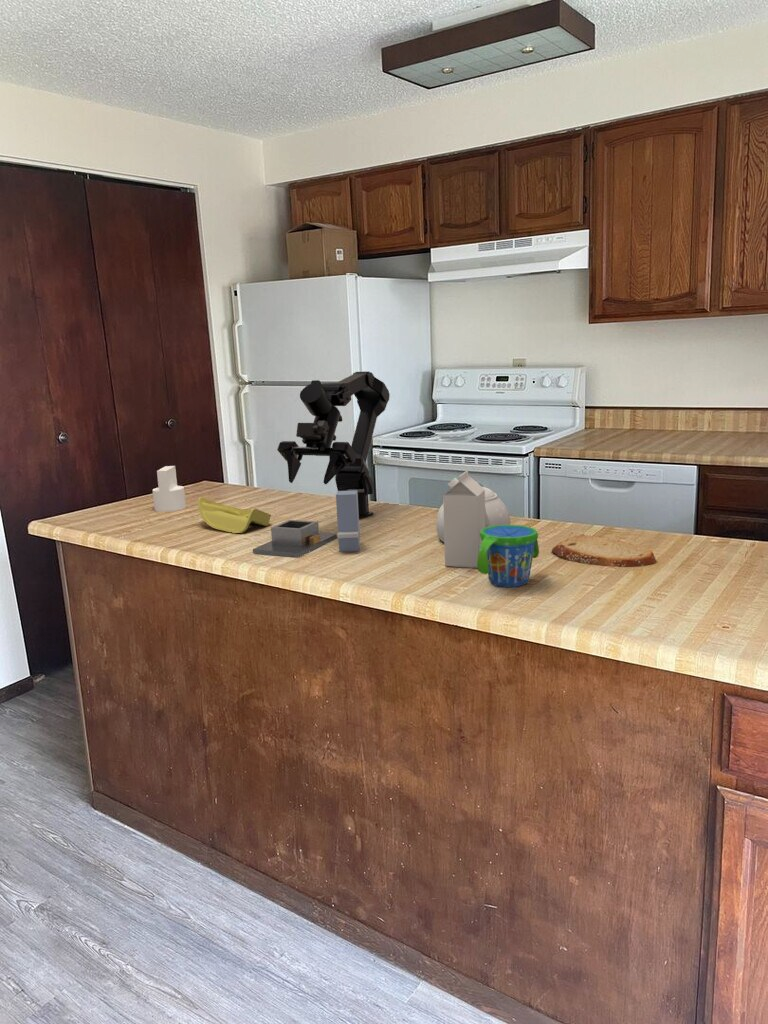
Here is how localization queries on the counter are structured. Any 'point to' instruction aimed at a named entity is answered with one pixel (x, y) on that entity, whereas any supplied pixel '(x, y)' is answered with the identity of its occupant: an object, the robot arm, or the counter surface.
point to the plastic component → (230, 516)
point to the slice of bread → (603, 552)
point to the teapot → (493, 513)
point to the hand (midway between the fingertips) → (307, 482)
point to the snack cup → (507, 554)
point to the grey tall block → (348, 520)
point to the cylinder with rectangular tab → (168, 491)
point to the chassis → (294, 539)
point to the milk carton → (463, 521)
